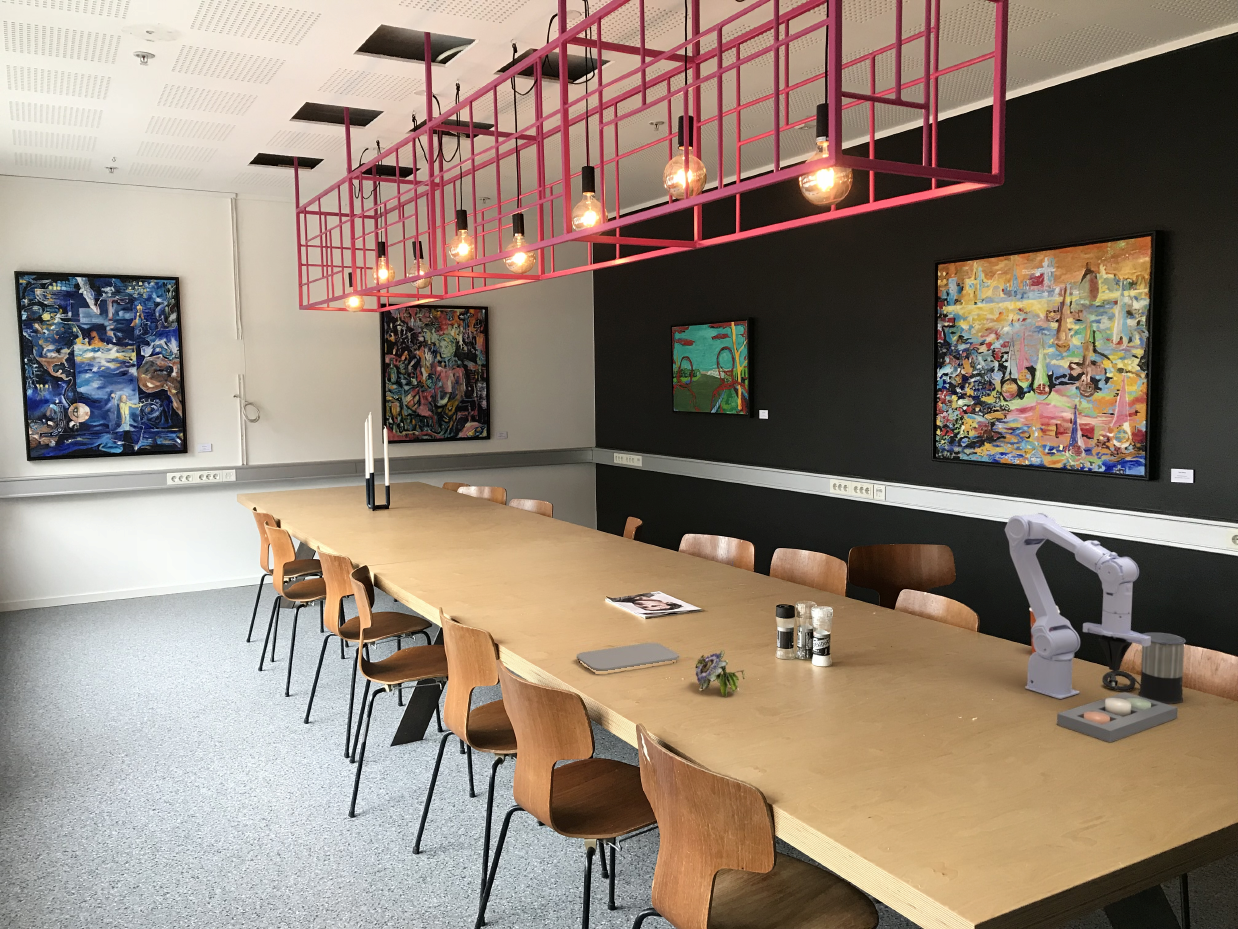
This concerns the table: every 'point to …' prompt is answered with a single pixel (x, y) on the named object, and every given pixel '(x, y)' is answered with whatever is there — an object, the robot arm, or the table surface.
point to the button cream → (1118, 706)
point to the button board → (1117, 719)
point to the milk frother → (1156, 670)
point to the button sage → (1139, 703)
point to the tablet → (627, 656)
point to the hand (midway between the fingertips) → (1114, 669)
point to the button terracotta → (1097, 717)
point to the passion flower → (716, 673)
